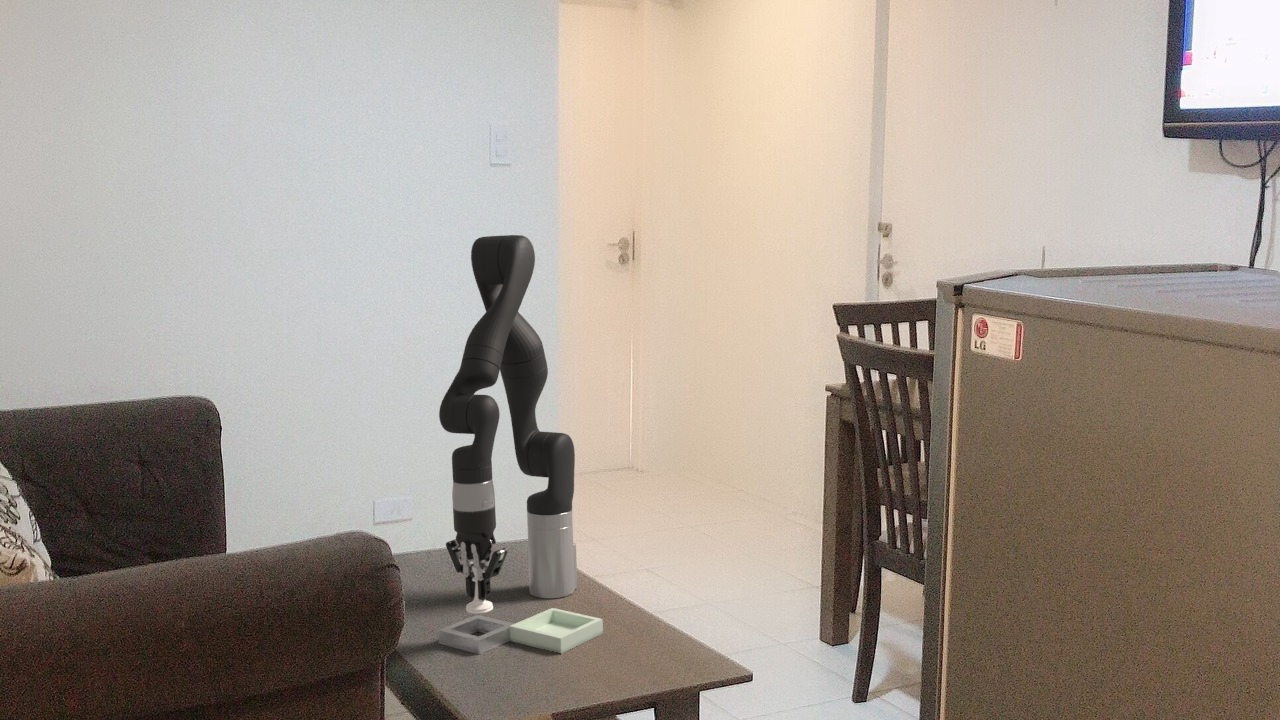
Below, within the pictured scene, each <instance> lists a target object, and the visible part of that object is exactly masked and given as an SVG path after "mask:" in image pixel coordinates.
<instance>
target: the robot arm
mask: <svg viewBox="0 0 1280 720" xmlns="http://www.w3.org/2000/svg"><path fill="white" fill-rule="evenodd" d="M535 253H536V252H535V249H534V246H533V243H532V242H531V240H530V239H529V238H528V237H527V236H525V235H521V234H519V235H518V234H507V235H505V234H504V235H488V236H481V237H478V238H477V239H475V240H474V242H473V243H472V246H471V251H470V260H471V267H472V272H473V276H474V280H475V283H476V285H477V289H478V290H479V295H480V297H481V301H482V303H483V307H484V309H485V313H484V314H483V315H482V316H481V317H480V319H479V320H478V321H477V322H476V324H475V325H474V326H473V328H472V329H471V330H470V333H469V335H468V337H467V338H466V339H467V340H466V343H465V346H464V349H463V355H462V359H461V362H460V367H459V370H458V371H457V373H456V375H455V377H454V379H453V380H452V382H451V384H450V386H449V387H448V389H447V391H446V393H445V394H444V396H443V398H442V400H441V403H440V406H439V411H438V418H439V421H440V425H441V426H442V428H443V430H444V431H446V432H447V433H450V434H465V435H467V434H468V435H474V438H473V441H472V443H471V444H469V445H462V446H459V447H457V448H456V449H454V450H453V451H452V455H451V469H452V492H451V493H452V500H451V501H452V515H453V516H452V517H453V530H454V532H456V534H455V535H456V536H455V539H452V540H449V541H447V542H445V547H446V549H447V552H448V554H449V556H450V559H451V561H452V564H453V567H454V568H455V571H456V573H459V574H460V573H461V574H462V575H463V577H464V578H465V591H466V594H467V597H468V598H471V599H473V598H474V597H475V581H472V578H473V577H475V575H474V572H473V570H472V566H473V565H474V567H475V568H477V575H478V579H479V580H478V598H479V600H485V599H486V600H487V599H489V598H490V596H491V594H492V587H491V579H492V578H495V577H497V576H499V574H500V572H501V569H502V567H503V564H504V561H505V559H506V557H507V555H508V549H507V548H506V547H503V548H501V547H499V546H498V545H497V540H496V538H495V535H494V532H495V530H496V527H497V519H496V498H495V496H496V495H495V487H494V482H493V464H492V462H493V461H492V459H493V458H492V456H493V449H494V444H495V440H496V439H495V438H496V436H497V435H496V434H497V430H498V427H499V422H500V408H499V404H498V403H497V401H496V400H495V398H493V396H491V395H488V394H476V392H478V391H481V390H482V389H487V388H491V387H493V386H495V384H496V383H497V381H498V379H499V375H500V376H501V378H502V382H503V386H504V392H505V394H506V399H507V404H508V409H509V414H510V422H511V427H512V437H513V444H514V452H515V457H516V458H515V459H516V460H517V465H518V467H519V469H520V471H521V472H522V473H523V474H524V475H526V476H529V477H536V478H537V477H539V478H548V479H547V480H548V481H547V488H546V489H544V490H541V491H538V492H535V493H532V494H531V495H529V496H528V497H527V499H526V516H527V517H526V519H527V520H526V521H527V548H528V552H527V553H528V581H529V585H528V587H529V588H528V589H529V594H530V595H531V596H532V597H536V598H540V599H558V598H564V597H568V596H571V595H573V594H574V593H575V590H576V589H578V571H577V569H578V568H577V564H578V563H577V544H576V543H575V542H574V528H573V527H574V526H573V499H574V495H575V494H574V493H575V461H576V460H575V459H576V457H575V456H576V455H575V445H574V442H573V439H572V438H571V436H570V435H569V434H567V433H564V432H557V431H556V432H554V431H540V429H539V427H538V423H537V418H536V409H537V404H538V401H539V399H540V397H541V394H542V393H543V390H544V388H545V386H546V383H547V380H548V375H549V371H548V370H549V368H548V363H547V358H546V354H545V349H544V345H543V342H542V340H541V337H540V336H539V334H538V333H537V332H536V330H535V329H534V328H533V327H532V325H531V323H529V322H528V320H527V319H525V317H524V316H522V314H521V313H520V312H519V310H520V307H521V305H522V303H523V300H524V297H525V295H526V293H527V290H528V288H529V284H530V283H531V279H532V277H533V274H534V269H535V265H536V264H535V263H536V256H535ZM472 559H473V560H474V562H472Z"/></svg>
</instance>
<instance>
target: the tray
mask: <svg viewBox="0 0 1280 720" xmlns="http://www.w3.org/2000/svg"><path fill="white" fill-rule="evenodd" d="M601 635H604V620H603V618H599V617H596V616H590V615H586V614H583V613H577V612H573V611H567V610H563V609H561V608H560V609H559V608H555V607H551V608H549V609H546V610H544V611H541V612H539V613H537V614H534V615H533V616H530V617H528V618H526V619H523V620H521V621H518V622H515V623H513V625H511V626H510V641H509V642H512V643H516V644H519V645H520V644H521V645H524V644H525V645H524V646H529V647H533V648H536V649H541V650H544V649H545V650H544V651H548V650H549V652H552V651H554V652H553V653H556V652H558V653H557V654H559V653H561V654H560V655H563V654H564V653H566V652H568V651H571V650H572V648H573V649H574V648H577V647H579V646H580V645H583V644H585V643H588V642H589V641H592V640H593V639H595V638H597V637H599V636H601ZM576 646H577V647H576ZM570 649H571V650H570Z"/></svg>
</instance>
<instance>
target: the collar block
mask: <svg viewBox="0 0 1280 720" xmlns="http://www.w3.org/2000/svg"><path fill="white" fill-rule="evenodd" d="M513 624H514V622H513V623H512V622H508V621H504V620H500V619H496V618H493V617H489V616H488V617H487V616H484V615H480V614H476V615H473V616H471V617H468V618H466V619H464V620H461V621H458V622H456V623H453V624H450V625H448V626H445V627H443V628H441V629H438V644H440V645H442V646H446V647H451V648H453V649H458V650H462V651H465V652H469V653H472V654H476V655H481V654H484V653H486V652H489V651H490V650H491V651H492V650H493V649H495V648H497V647H499V646H502V645H504V644H507V643H509V642H511V641H510V626H511V625H513ZM477 632H479V633H483V634H482V635H479V636H477V635H474V634H475V633H477Z"/></svg>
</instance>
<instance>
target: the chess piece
mask: <svg viewBox="0 0 1280 720" xmlns="http://www.w3.org/2000/svg"><path fill="white" fill-rule="evenodd" d="M472 562H474V560H473V559H472ZM472 570H473V572H474V575H475V577H473V578H472V581H475V597H473V598H474V599H472V601H471V602H468V603H467V604H466V605H465V607H466V608H465V610H466V612H467V613H469V614H476V615H480V614H484V613H489V612H491V611H492V610H493V609H494V605H493V602H492V601H490V600H487V599H485V600H479V598H478V580H479V579H478V575H477V568H475V567H474V565H473V566H472Z"/></svg>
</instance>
